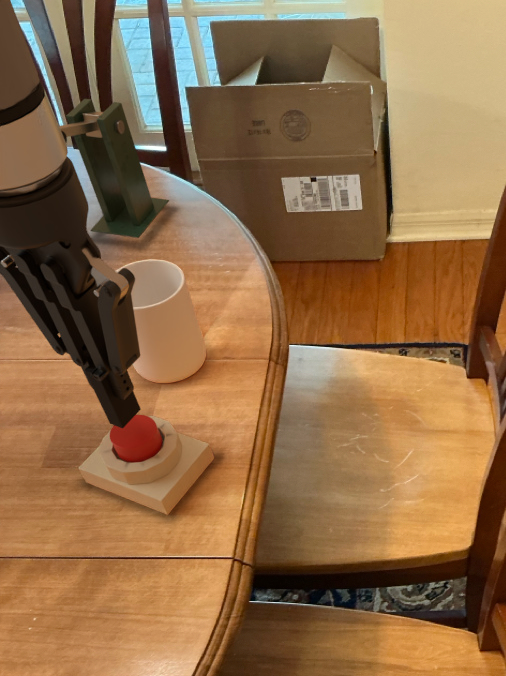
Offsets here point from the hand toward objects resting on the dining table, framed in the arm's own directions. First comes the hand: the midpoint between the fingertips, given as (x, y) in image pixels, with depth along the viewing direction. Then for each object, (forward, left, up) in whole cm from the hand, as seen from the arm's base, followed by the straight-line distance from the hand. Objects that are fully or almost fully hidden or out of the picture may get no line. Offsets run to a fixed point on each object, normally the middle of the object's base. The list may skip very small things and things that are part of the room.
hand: (125, 416), depth 71 cm
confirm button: (0, 0, -4) cm, 4 cm away
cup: (-9, +16, -8) cm, 20 cm away
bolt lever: (-28, +30, +6) cm, 41 cm away
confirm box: (0, 0, -7) cm, 7 cm away
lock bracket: (-29, +35, -7) cm, 46 cm away
